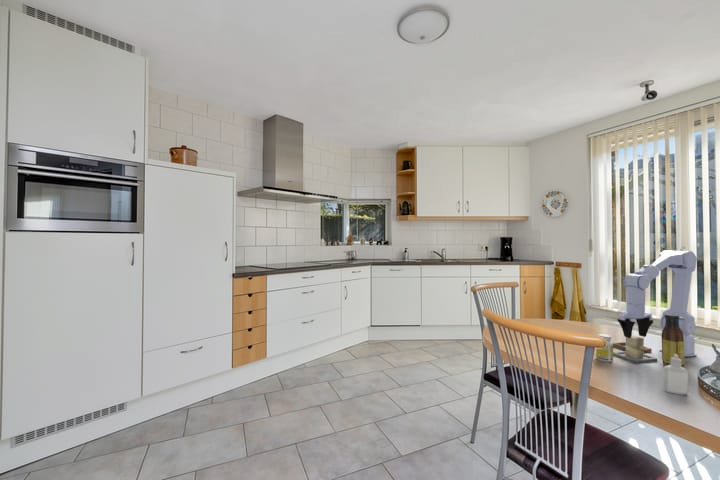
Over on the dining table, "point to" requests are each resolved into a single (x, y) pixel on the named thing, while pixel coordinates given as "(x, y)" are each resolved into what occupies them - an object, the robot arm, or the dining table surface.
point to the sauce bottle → (672, 340)
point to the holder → (622, 346)
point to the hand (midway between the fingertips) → (635, 336)
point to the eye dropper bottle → (675, 377)
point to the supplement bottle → (605, 350)
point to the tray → (641, 360)
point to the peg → (635, 347)
